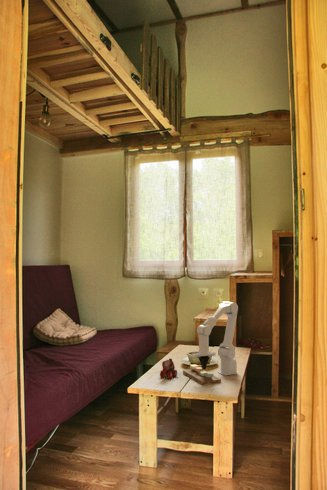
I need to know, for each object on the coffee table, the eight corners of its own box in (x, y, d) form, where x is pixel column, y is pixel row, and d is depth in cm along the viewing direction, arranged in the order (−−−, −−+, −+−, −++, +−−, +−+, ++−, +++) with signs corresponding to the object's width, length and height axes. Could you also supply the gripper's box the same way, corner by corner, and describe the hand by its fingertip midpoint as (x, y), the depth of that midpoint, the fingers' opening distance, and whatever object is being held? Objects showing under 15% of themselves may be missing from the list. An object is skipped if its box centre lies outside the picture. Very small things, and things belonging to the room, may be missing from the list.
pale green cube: (205, 377, 236) (205, 371, 236) (208, 379, 232) (208, 372, 233) (199, 377, 234) (199, 371, 235) (202, 379, 231) (202, 373, 231)
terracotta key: (200, 372, 241) (200, 366, 242) (203, 374, 238) (203, 368, 238) (194, 373, 240) (194, 367, 240) (197, 375, 237) (197, 369, 237)
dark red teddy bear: (178, 375, 242) (179, 358, 242) (168, 380, 231) (168, 362, 232) (169, 373, 245) (169, 356, 246) (158, 378, 235) (158, 360, 235)
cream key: (195, 370, 247) (195, 364, 247) (198, 371, 244) (198, 365, 244) (190, 370, 246) (190, 365, 246) (193, 372, 242) (193, 366, 242)
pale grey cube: (210, 378, 230) (210, 372, 231) (213, 380, 227) (213, 373, 227) (204, 379, 229) (204, 372, 229) (207, 380, 225) (207, 374, 226)
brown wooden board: (200, 371, 250) (200, 368, 250) (221, 382, 227) (221, 379, 227) (183, 373, 245) (183, 370, 245) (202, 385, 222) (202, 381, 222)
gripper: (211, 343, 241) (211, 366, 240) (189, 345, 235) (189, 368, 235) (217, 345, 234) (217, 369, 234) (195, 347, 229) (195, 371, 228)
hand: (203, 369), depth 234 cm, fingers closed
